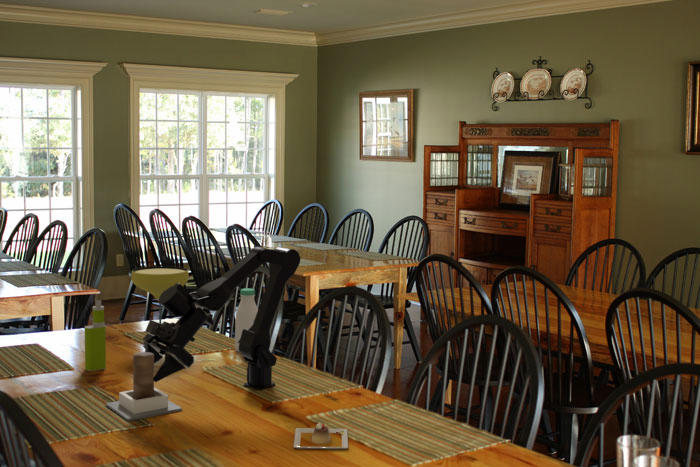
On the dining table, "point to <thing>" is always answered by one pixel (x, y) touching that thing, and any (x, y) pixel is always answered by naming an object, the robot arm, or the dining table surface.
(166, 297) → the robot arm
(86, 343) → the vape
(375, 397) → the dining table surface
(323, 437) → the dessert
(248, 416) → the dining table surface
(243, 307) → the milk bottle
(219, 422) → the dining table surface
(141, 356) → the plug
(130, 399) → the socket dock
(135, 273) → the cocktail glass
